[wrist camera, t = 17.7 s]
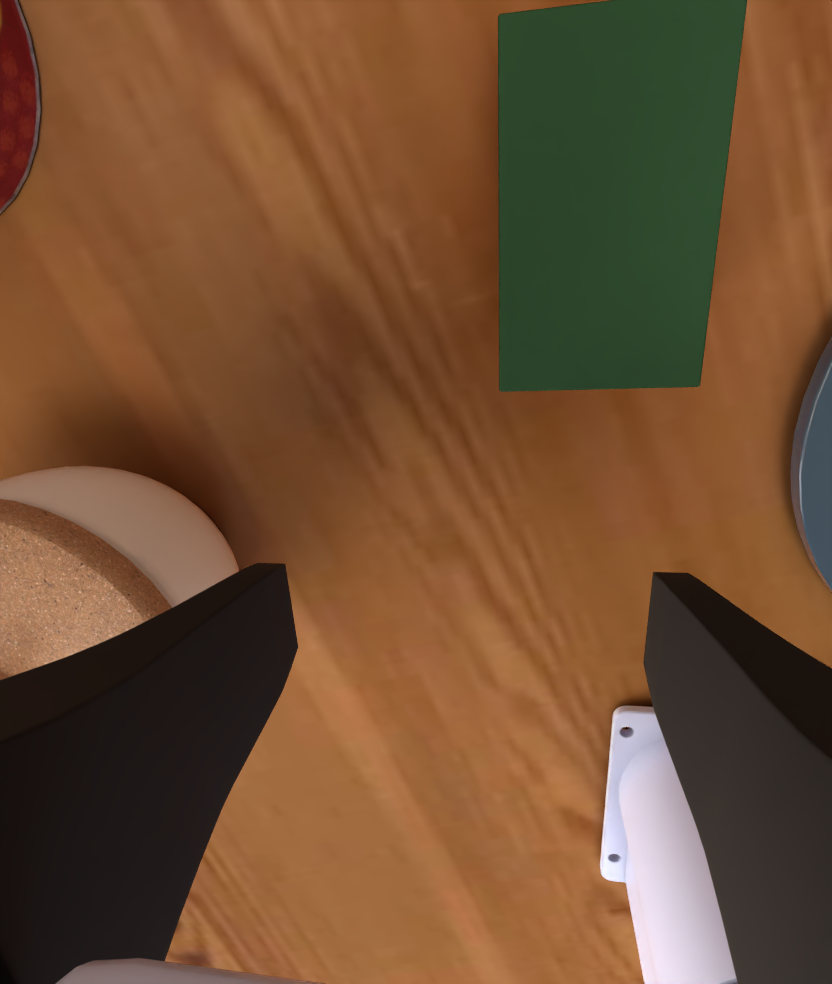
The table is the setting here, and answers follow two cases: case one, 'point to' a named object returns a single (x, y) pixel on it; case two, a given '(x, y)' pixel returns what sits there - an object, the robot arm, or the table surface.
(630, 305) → the sponge
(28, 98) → the canned food
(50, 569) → the trinket box
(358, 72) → the table surface
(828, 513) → the plate
